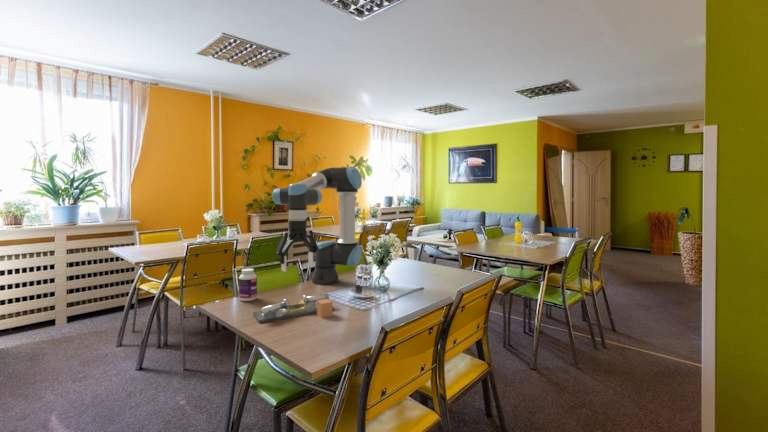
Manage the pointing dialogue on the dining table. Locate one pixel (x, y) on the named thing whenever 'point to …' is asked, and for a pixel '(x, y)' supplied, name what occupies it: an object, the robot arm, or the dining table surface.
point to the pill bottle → (247, 285)
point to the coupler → (324, 308)
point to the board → (290, 311)
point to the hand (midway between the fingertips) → (297, 269)
